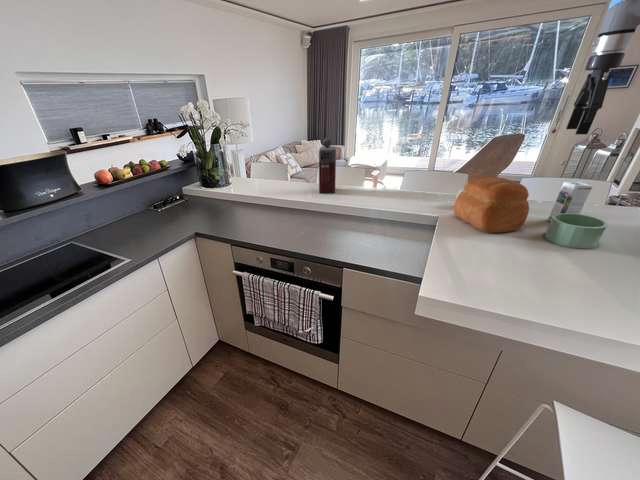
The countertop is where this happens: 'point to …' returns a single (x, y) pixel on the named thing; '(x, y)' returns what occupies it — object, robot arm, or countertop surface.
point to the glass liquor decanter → (327, 167)
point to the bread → (493, 204)
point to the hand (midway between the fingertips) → (575, 131)
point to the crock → (575, 230)
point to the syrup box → (571, 198)
